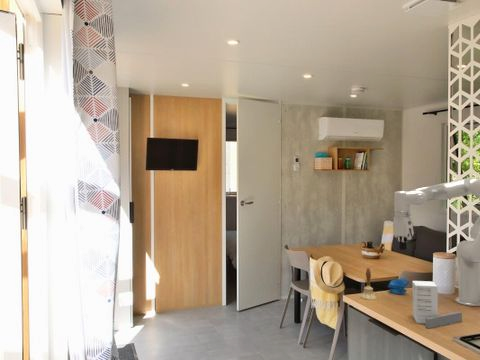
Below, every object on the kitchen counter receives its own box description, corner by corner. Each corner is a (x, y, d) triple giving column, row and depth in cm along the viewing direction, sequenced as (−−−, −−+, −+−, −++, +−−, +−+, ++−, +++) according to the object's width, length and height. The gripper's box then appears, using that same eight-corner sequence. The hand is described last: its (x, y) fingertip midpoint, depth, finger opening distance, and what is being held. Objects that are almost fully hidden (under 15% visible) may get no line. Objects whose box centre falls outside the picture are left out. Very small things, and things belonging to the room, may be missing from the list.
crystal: (386, 278, 228) (408, 275, 224) (389, 293, 227) (412, 290, 223) (385, 281, 221) (408, 278, 217) (389, 297, 221) (412, 294, 216)
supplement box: (438, 324, 174) (438, 286, 174) (416, 323, 177) (415, 285, 177) (434, 317, 184) (433, 281, 183) (412, 316, 186) (411, 280, 186)
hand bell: (380, 298, 214) (379, 268, 214) (368, 300, 210) (368, 270, 210) (368, 294, 221) (368, 266, 221) (357, 296, 217) (356, 267, 217)
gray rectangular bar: (458, 320, 179) (458, 311, 179) (461, 321, 178) (461, 312, 178) (425, 327, 172) (425, 318, 172) (428, 328, 170) (428, 319, 170)
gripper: (419, 215, 202) (419, 251, 202) (397, 213, 216) (397, 246, 216) (407, 216, 200) (408, 252, 200) (386, 213, 213) (386, 248, 213)
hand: (402, 249), depth 208 cm, fingers closed
